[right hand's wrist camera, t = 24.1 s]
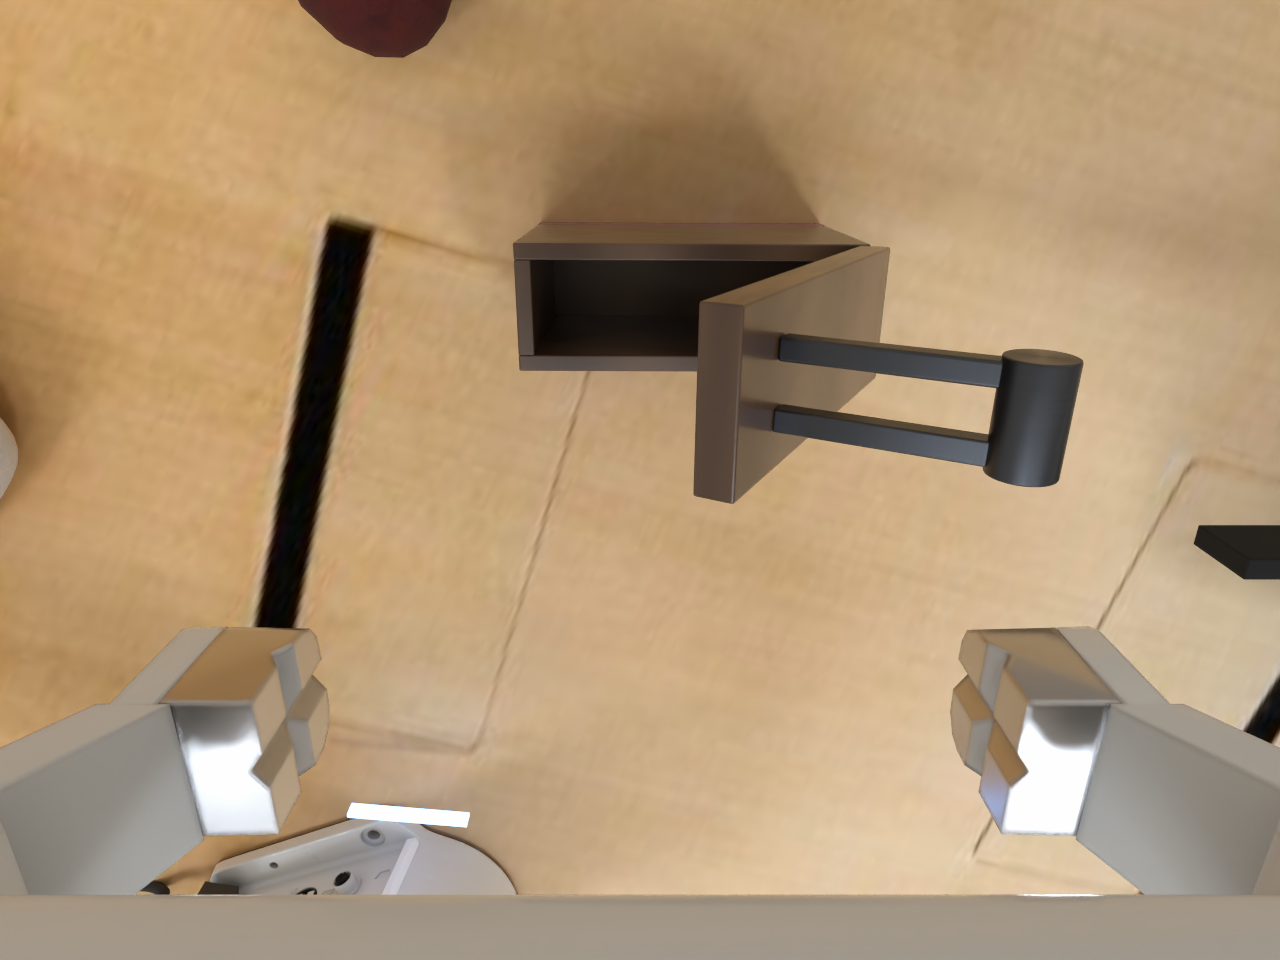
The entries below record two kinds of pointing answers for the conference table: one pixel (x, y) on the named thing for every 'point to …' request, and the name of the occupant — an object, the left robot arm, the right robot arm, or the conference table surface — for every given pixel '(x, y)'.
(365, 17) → the potato
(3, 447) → the grey slotted rounded block
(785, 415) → the lid
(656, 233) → the chest
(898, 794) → the conference table surface
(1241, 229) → the conference table surface
